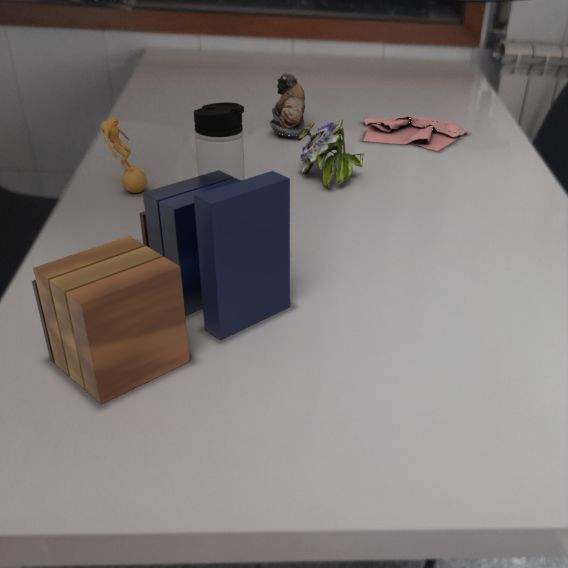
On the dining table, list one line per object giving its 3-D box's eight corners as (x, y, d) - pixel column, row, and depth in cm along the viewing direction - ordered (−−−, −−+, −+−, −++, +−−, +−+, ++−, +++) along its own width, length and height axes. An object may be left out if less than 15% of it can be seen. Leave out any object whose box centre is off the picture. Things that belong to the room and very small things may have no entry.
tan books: (50, 360, 79) (27, 263, 72) (137, 323, 86) (123, 231, 79) (100, 404, 73) (81, 304, 66) (190, 361, 80) (180, 266, 73)
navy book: (204, 329, 85) (193, 195, 75) (274, 297, 92) (272, 170, 82) (220, 340, 83) (211, 204, 74) (290, 307, 90) (290, 178, 80)
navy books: (149, 292, 91) (135, 188, 83) (218, 265, 98) (212, 166, 90) (184, 316, 87) (173, 209, 79) (254, 286, 94) (250, 184, 86)
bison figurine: (306, 142, 140) (307, 89, 134) (269, 141, 139) (269, 88, 133) (303, 122, 149) (304, 72, 144) (269, 121, 149) (269, 71, 143)
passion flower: (307, 202, 129) (294, 136, 129) (366, 191, 130) (353, 125, 130) (305, 189, 118) (291, 117, 118) (370, 177, 119) (356, 105, 118)
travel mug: (236, 259, 100) (230, 114, 88) (194, 249, 101) (183, 106, 90) (256, 240, 104) (253, 101, 93) (216, 231, 106) (207, 93, 95)
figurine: (142, 202, 113) (133, 127, 106) (104, 201, 113) (92, 125, 106) (153, 182, 120) (144, 109, 113) (116, 181, 120) (106, 108, 113)
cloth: (479, 133, 149) (481, 121, 148) (418, 159, 135) (419, 146, 134) (401, 110, 159) (402, 99, 158) (336, 132, 145) (336, 120, 144)
